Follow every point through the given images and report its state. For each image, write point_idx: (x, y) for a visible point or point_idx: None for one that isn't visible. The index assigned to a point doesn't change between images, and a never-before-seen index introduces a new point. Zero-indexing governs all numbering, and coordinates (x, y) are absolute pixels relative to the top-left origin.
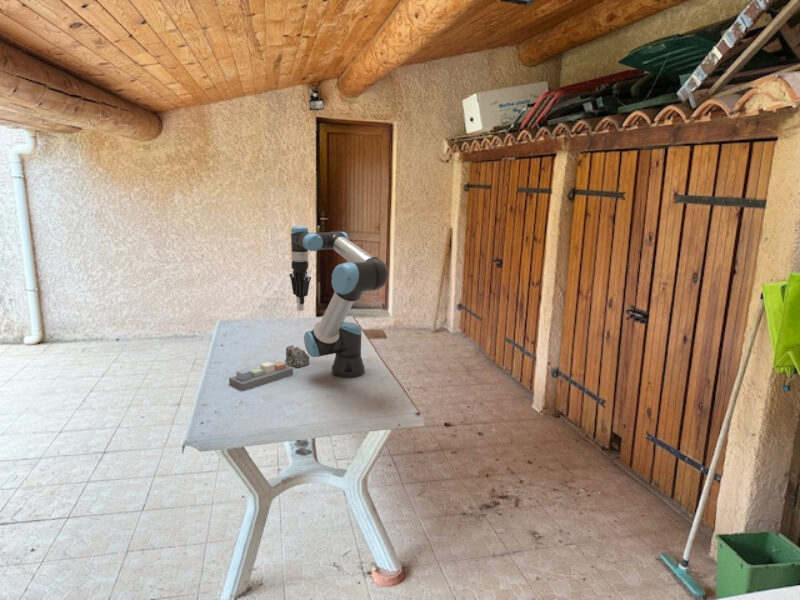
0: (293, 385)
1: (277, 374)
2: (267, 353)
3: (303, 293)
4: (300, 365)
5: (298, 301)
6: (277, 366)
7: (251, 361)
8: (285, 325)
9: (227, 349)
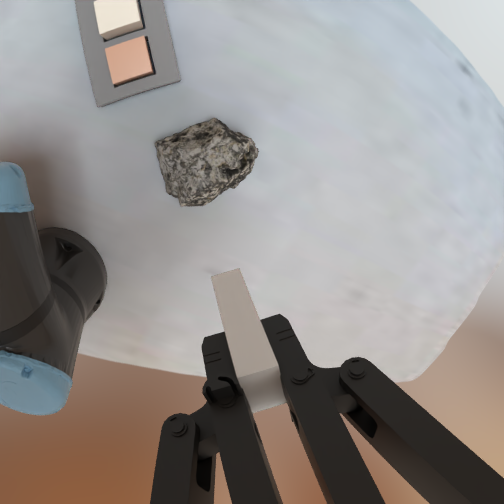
0: (23, 84)
1: (83, 44)
2: (355, 121)
3: (162, 456)
4: (158, 156)
5: (238, 335)
6: (106, 48)
7: (313, 40)
8: (472, 266)
9: (437, 56)
